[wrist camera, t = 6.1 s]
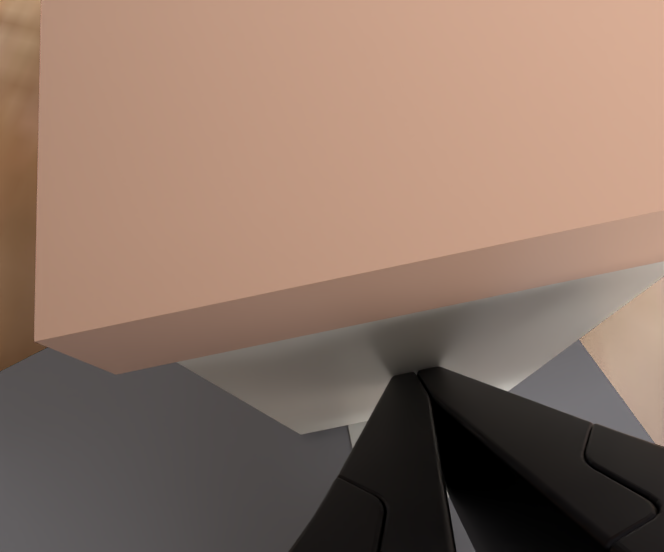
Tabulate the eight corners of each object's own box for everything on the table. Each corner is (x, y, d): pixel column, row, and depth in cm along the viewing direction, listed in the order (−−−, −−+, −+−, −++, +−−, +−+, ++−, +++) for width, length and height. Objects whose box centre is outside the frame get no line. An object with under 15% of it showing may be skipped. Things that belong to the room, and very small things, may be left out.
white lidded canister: (518, 400, 14) (913, 158, 4) (292, 446, 14) (34, 342, 4) (456, 201, 16) (587, -306, 6) (261, 242, 16) (44, -185, 6)
